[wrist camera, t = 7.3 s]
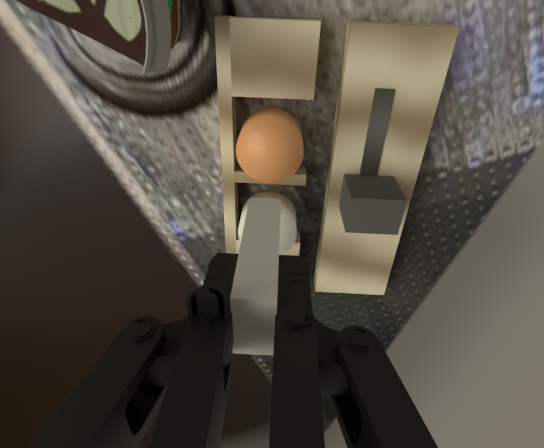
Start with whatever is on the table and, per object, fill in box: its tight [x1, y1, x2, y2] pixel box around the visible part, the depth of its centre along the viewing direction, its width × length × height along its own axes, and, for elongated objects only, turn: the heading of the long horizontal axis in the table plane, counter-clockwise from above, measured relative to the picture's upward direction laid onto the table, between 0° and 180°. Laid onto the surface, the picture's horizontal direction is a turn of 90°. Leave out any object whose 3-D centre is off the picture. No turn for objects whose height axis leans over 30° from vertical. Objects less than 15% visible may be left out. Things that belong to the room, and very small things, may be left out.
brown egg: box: [236, 107, 304, 183], centre depth 26 cm, size 5×5×3 cm
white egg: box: [238, 192, 297, 255], centre depth 30 cm, size 5×5×3 cm
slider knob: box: [339, 174, 407, 235], centre depth 28 cm, size 3×4×4 cm
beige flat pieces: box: [214, 15, 460, 295], centre depth 30 cm, size 24×16×2 cm, turn 178°
